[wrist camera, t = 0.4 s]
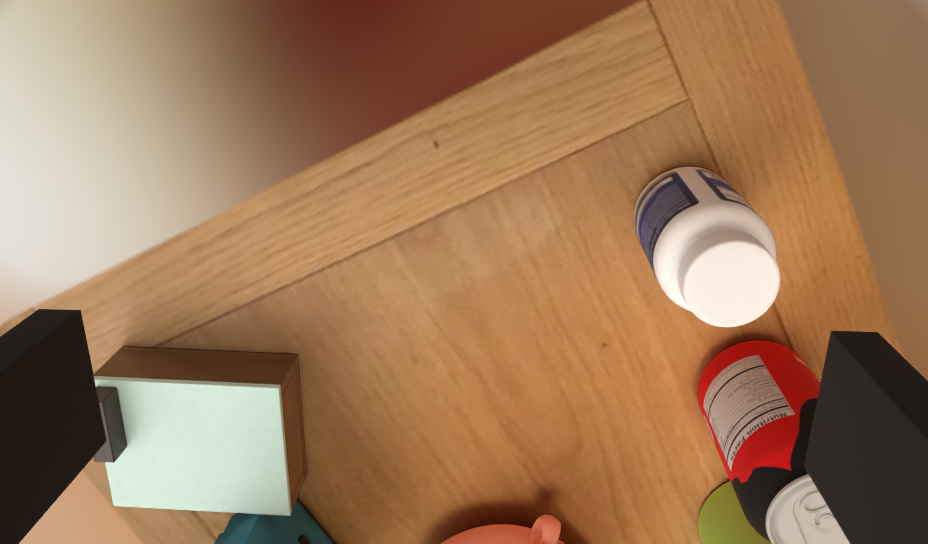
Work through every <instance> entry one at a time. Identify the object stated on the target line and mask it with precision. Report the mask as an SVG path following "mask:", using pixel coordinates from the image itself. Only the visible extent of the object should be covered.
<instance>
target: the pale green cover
mask: <svg viewBox="0 0 928 544" xmlns="http://www.w3.org/2000/svg"><path fill="white" fill-rule="evenodd" d="M94 380H95V385H96V390H97V395H98V400H99V405H100V410H101V415H102V420H103V425H104V430H105V435H106V440H107V441H106V442H105V444H104V445H103V446H102V447H101V448H100V449H99V451H98V452H97V453H96V454H95V455H94V456H93V457H94V461H95V462H105V464H106V469H107V474H108V479H109V485H110V490H111V495H112V500H113V505H114V506H124V507H142V508H160V509H178V510H195V511H213V512H231V513H249V514H266V515H284V516H290V515H291V512H292V509H291V498H290V486H289V475H288V463H287V452H286V441H285V429H284V418H283V406H282V395H281V385H275V384H254V383H233V382H212V381H191V380H170V379H148V378H127V377H106V376H94Z"/></svg>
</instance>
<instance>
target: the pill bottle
mask: <svg viewBox="0 0 928 544" xmlns="http://www.w3.org/2000/svg"><path fill="white" fill-rule="evenodd" d="M634 226H635V231H636V234H637V237H638V239H639V242H640V244H641V246H642V248H643V250H644V252H645V254H646V256H647V258H648V261H649V263H650V265H651V267H652V269H653V272H654V274H655V276H656V278H657V280H658V282H659V284H660V286H661V288H662V289H663V291H664V292H665V293H666V295H667V296H668V297H669V298H670V299H671V300H672V301H673V302H675V303H676V304H677V305H679V306H681V307H682V308H684V309H686V310H689V311H691V312H693V314H694V315H696V316H697V317H698V318H699V319H701V320H702V321H704V322H706V323H708V324H711V325H714V326H719V327H736V326H740V325H744V324H747V323H749V322H751V321H753V320H755V319H757V318H758V317H760V316H761V315H762V314H763V313H765V312H766V311H767V310H768V309H769V307H770V306H771V305H772V304H773V302H774V300H775V298H776V296H777V294H778V291H779V288H780V272H779V267H778V265H777V263H776V246H775V241H774V238H773V235H772V233H771V231H770V229H769V227H768V226H767V224H766V223H765V222H764V221H763V219H762V218H761V217H760V216H759V215H758V214H757V213H756V212H755V211H754V210H753V208H752V207H751V206H750V205H749V204H748V203H747V202H746V201H745V200H744V199H743V198H742V197H741V196H740V195H739V194H738V193H737V192H736V191H735V190H734V189H733V188H732V187H731V186H730V185H729V184H728V183H727V182H726V181H725V180H724V179H722V178H721V177H720V176H718V175H717V174H715V173H713V172H711V171H709V170H706V169H703V168H699V167H680V168H675V169H672V170H670V171H667V172H665V173H663V174H661V175H659V176H658V177H656V178H655V179H654V180H652V181H651V182H650V183H649V184H648V185H647V186H646V187H645V189H644V190H643V191H642V193H641V194H640V196H639V198H638V200H637V203H636V206H635V211H634Z"/></svg>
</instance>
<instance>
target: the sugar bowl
mask: <svg viewBox="0 0 928 544" xmlns="http://www.w3.org/2000/svg"><path fill="white" fill-rule="evenodd" d="M560 531H561V524H560V522H559V520H558V519H556V518H555V517H553V516H551V515H543V516H540V517H539V518H538V519H537V520H536V521H535V523H534V525H533V527H532V529H531V528H528V527H523V526H518V525H508V524H496V525H486V526H480V527H477V528H473V529H469V530H467V531H464V532H461V533H459V534H457V535H455V536H453V537H451V538H449V539H447V540H445V541H444V542H443V543H441V544H565V543H563V542H561V541H560V540H558V538H559V535H560Z"/></svg>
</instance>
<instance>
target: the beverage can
mask: <svg viewBox="0 0 928 544" xmlns="http://www.w3.org/2000/svg"><path fill="white" fill-rule="evenodd" d="M819 389H820V382H819V381H818V379H817V378H816V377H815V375H814V374H813V373H812V371H811V370H810V368H809V367H808V366H807V364H806V363H805V362H804V360H803V359H802V358H801V357H800V356H799V355H798V354H797V353H796V352H794V351H793V350H791V349H790V348H788V347H786V346H784V345H781V344H778V343H775V342H770V341H748V342H743V343H739V344H736V345H734V346H731V347H729V348H727V349H726V350H724V351H722V352H721V353H719V354H718V355H717V356H716V357H715V358H714V359H712V360H711V362H710V363H709V364H708V365H707V367H706V368H705V370H704V371H703V373H702V375H701V378H700V381H699V385H698V403H699V407H700V409H701V412H702V414H703V417H704V419H705V421H706V424H707V426H708V429H709V431H710V433H711V436H712V438H713V441H714V443H715V445H716V448H717V450H718V453H719V455H720V457H721V460H722V462H723V465H724V467H725V469H726V472H727V474H728V477H729V479H730V481H731V484H732V486H733V489H734V491H735V493H736V496H737V498H738V501H739V503H740V505H741V508H742V510H743V513H744V515H745V517H746V519H747V521H748V522H749V523H750V525H751V526H752V527H753V528H754V529H755V530H756V532H757V533H759V534H760V535H761V536H762V537H763V538H765V539H766V540H768V541H770V542H771V543H772V544H850V543H849V541H848V540H847V538H846V536H845V535H844V533H843V531H842V530H841V528H840V526H839V524H838V523H837V521H836V519H835V518H834V516H833V514H832V513H831V511H830V509H829V508H828V506H827V504H826V503H825V501H824V499H823V498H822V496H821V494H820V493H819V491H818V489H817V488H816V486H815V484H814V483H813V481H812V479H811V478H810V476H809V474H808V473H807V471H806V469H805V468H804V463H805V458H806V453H807V448H808V443H809V438H810V433H811V428H812V423H813V418H814V413H815V409H816V404H817V399H818V394H819Z"/></svg>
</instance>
